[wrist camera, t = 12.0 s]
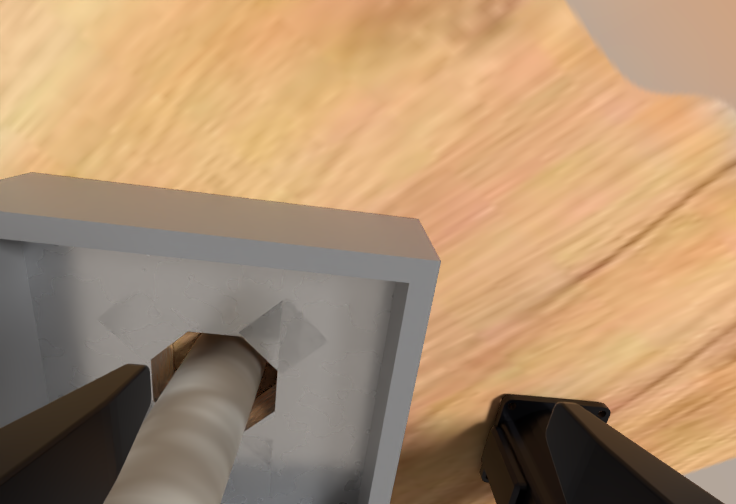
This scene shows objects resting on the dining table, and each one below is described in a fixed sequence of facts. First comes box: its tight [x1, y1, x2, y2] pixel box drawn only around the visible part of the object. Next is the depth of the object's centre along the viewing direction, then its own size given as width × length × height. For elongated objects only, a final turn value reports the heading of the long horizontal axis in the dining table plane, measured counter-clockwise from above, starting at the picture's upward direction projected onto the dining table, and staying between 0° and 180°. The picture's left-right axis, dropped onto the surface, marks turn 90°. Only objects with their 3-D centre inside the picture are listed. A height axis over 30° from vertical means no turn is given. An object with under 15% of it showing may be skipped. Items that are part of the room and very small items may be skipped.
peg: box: [103, 333, 267, 504], centre depth 18 cm, size 4×4×10 cm
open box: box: [0, 172, 441, 504], centre depth 20 cm, size 18×18×6 cm
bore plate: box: [22, 241, 396, 504], centre depth 21 cm, size 16×16×2 cm
